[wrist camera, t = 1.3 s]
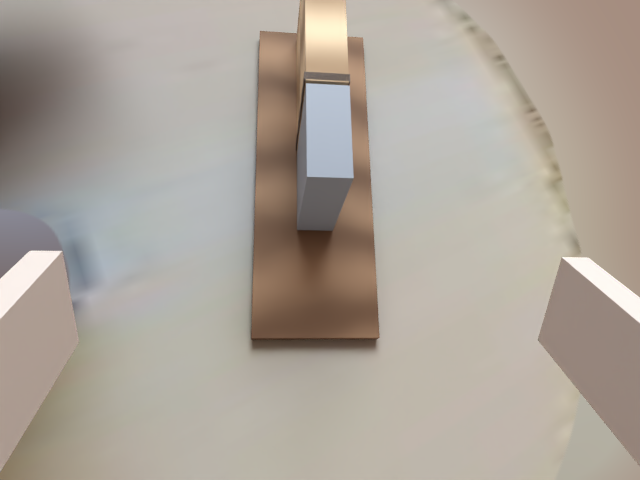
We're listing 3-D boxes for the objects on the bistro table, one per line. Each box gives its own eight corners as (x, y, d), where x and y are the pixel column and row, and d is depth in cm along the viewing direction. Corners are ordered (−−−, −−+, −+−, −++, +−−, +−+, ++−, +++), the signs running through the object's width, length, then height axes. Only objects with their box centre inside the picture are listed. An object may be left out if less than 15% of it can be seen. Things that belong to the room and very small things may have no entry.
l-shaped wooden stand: (376, 339, 39) (416, 315, 29) (251, 339, 38) (246, 315, 28) (360, 44, 48) (387, -54, 38) (260, 38, 47) (258, -64, 37)
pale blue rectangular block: (332, 230, 40) (353, 178, 31) (297, 229, 40) (306, 176, 31) (330, 155, 43) (349, 85, 33) (296, 154, 42) (306, 83, 33)
